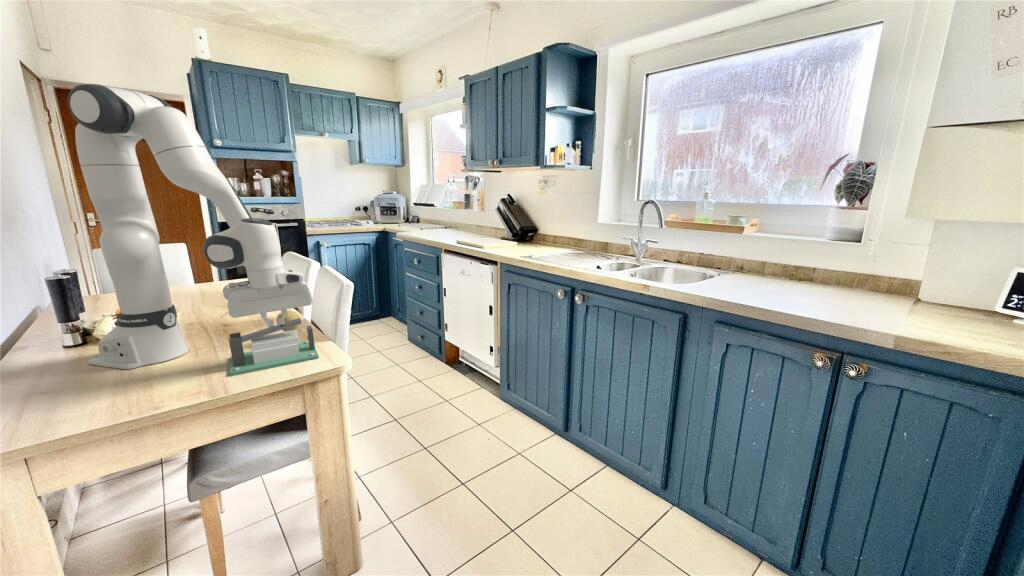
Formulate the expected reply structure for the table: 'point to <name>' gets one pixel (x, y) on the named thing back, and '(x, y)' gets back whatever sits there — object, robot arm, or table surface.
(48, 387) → the table surface
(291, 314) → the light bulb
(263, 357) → the board
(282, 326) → the strap
